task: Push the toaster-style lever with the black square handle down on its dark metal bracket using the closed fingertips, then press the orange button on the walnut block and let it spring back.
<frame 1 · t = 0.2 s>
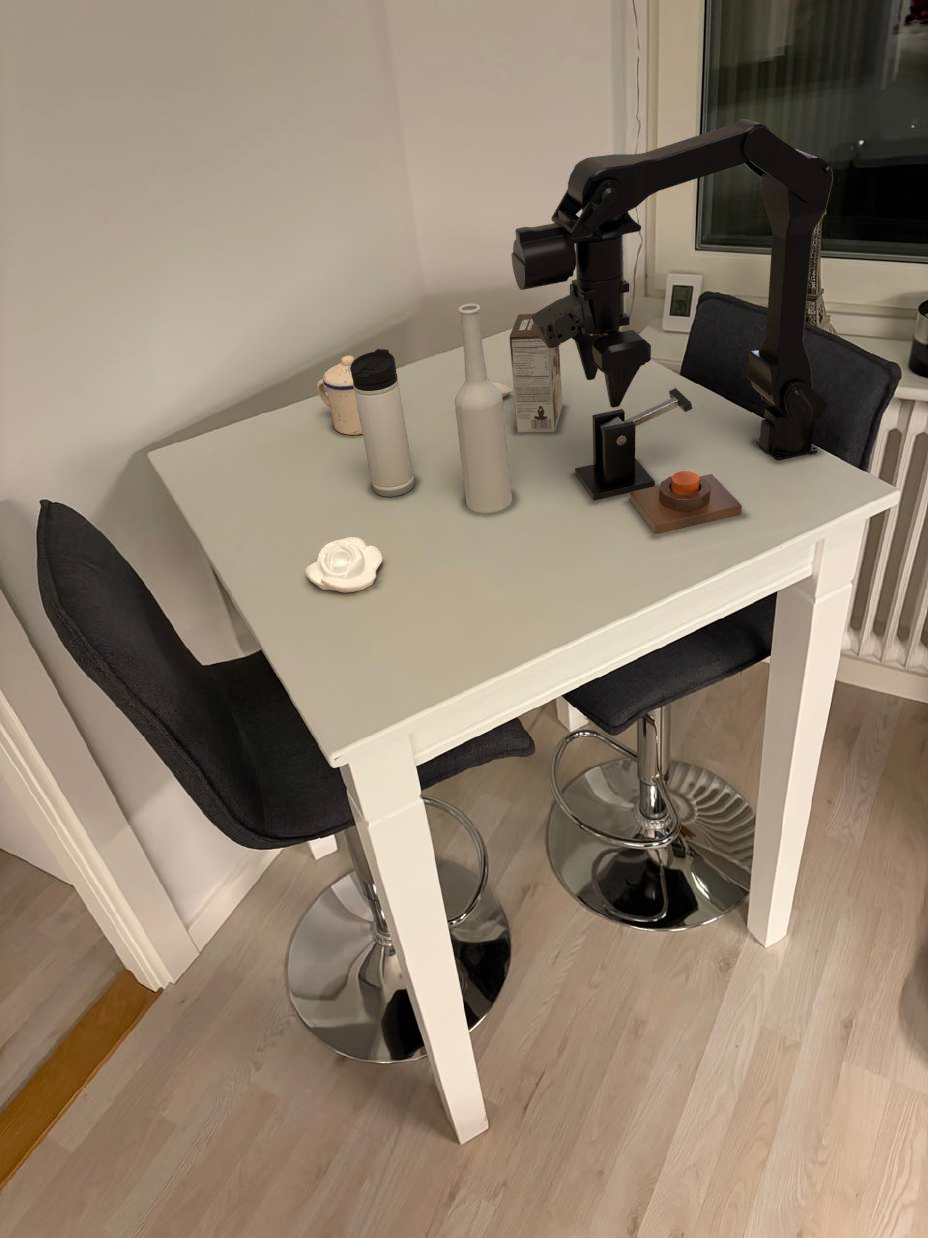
hand: (602, 392, 123), 15 cm above the table, tool pointing down, fingers open, 9 cm apart
travel mug: (395, 486, 138), on the table
coffee box: (540, 421, 150), on the table
cancel button: (685, 483, 123), point 4 cm above the table, slide at 0.1 cm
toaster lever: (644, 416, 127), point 9 cm above the table, hinge at 15.0°
macaroon: (498, 399, 158), on the table
teacup with lid: (353, 423, 157), on the table
lever bracket: (614, 481, 133), on the table
button block: (684, 509, 125), on the table
rose: (346, 575, 122), on the table
bottle: (489, 502, 132), on the table
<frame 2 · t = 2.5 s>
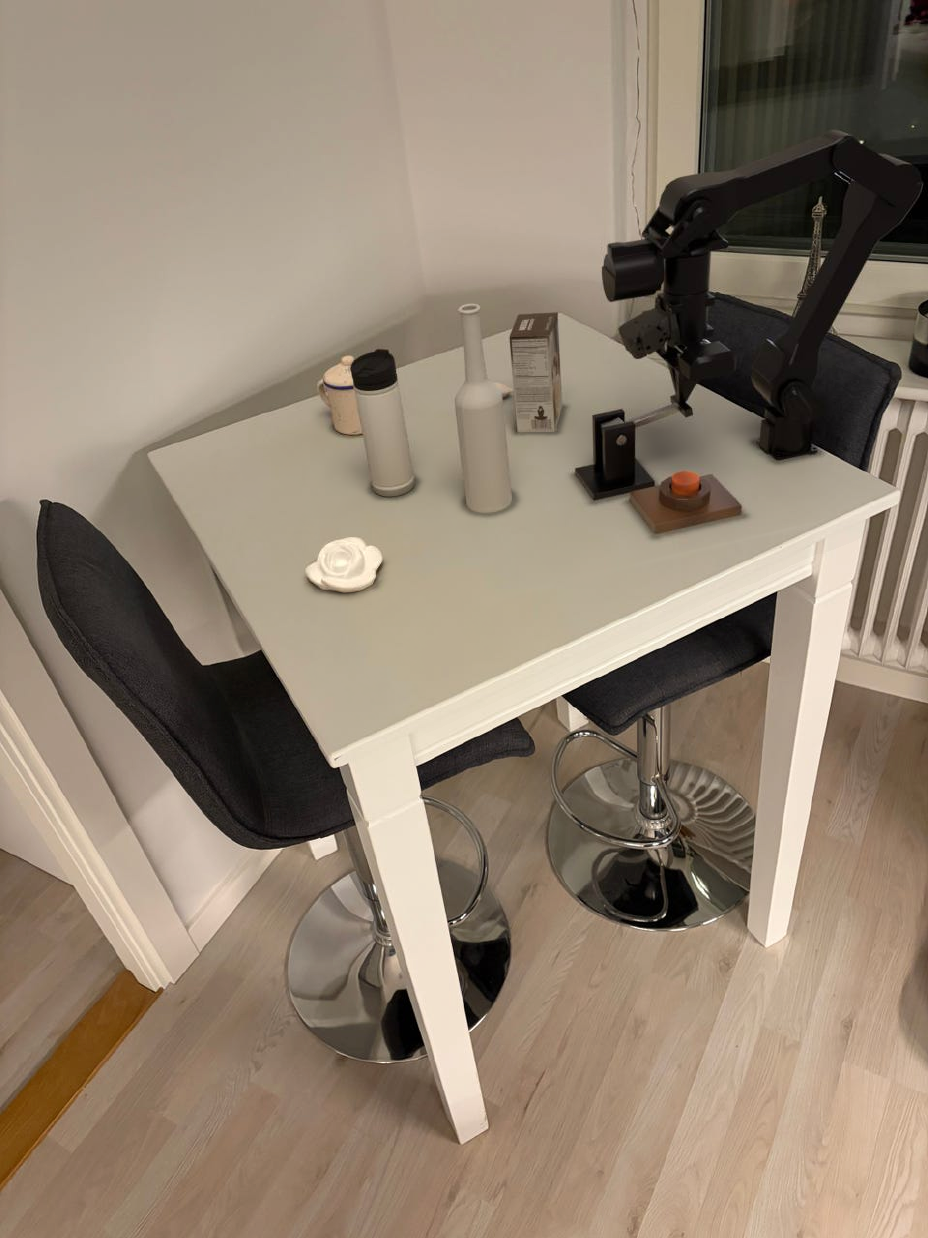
hand: (681, 401, 127), 10 cm above the table, tool pointing down, fingers closed, pressing on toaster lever
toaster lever: (644, 419, 128), point 9 cm above the table, hinge at 9.8°, touching gripper
everything else where it was.
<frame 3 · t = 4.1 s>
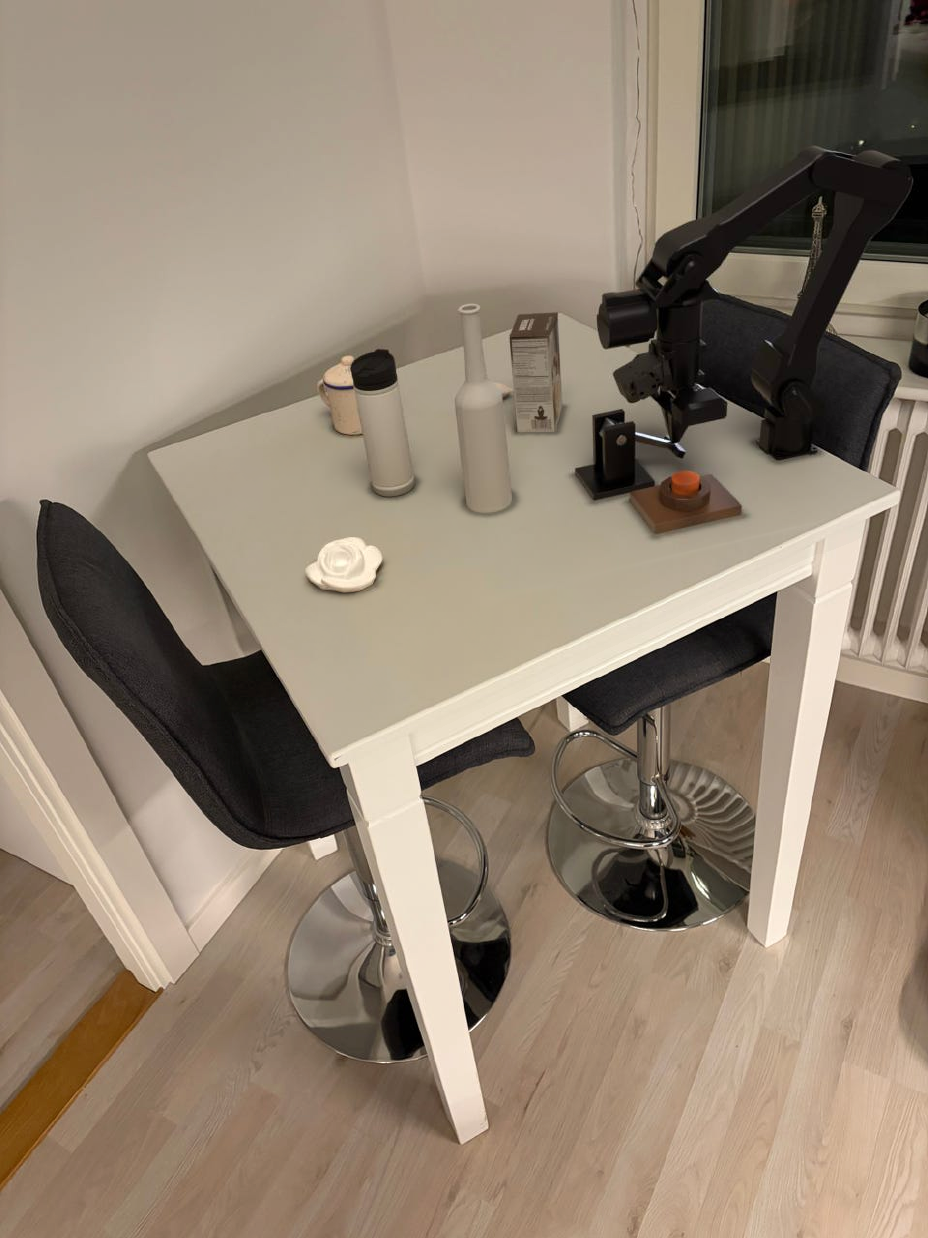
hand: (674, 441, 131), 4 cm above the table, tool pointing down, fingers closed, pressing on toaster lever
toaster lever: (641, 438, 129), point 6 cm above the table, hinge at -26.4°, touching gripper
everything else where it was.
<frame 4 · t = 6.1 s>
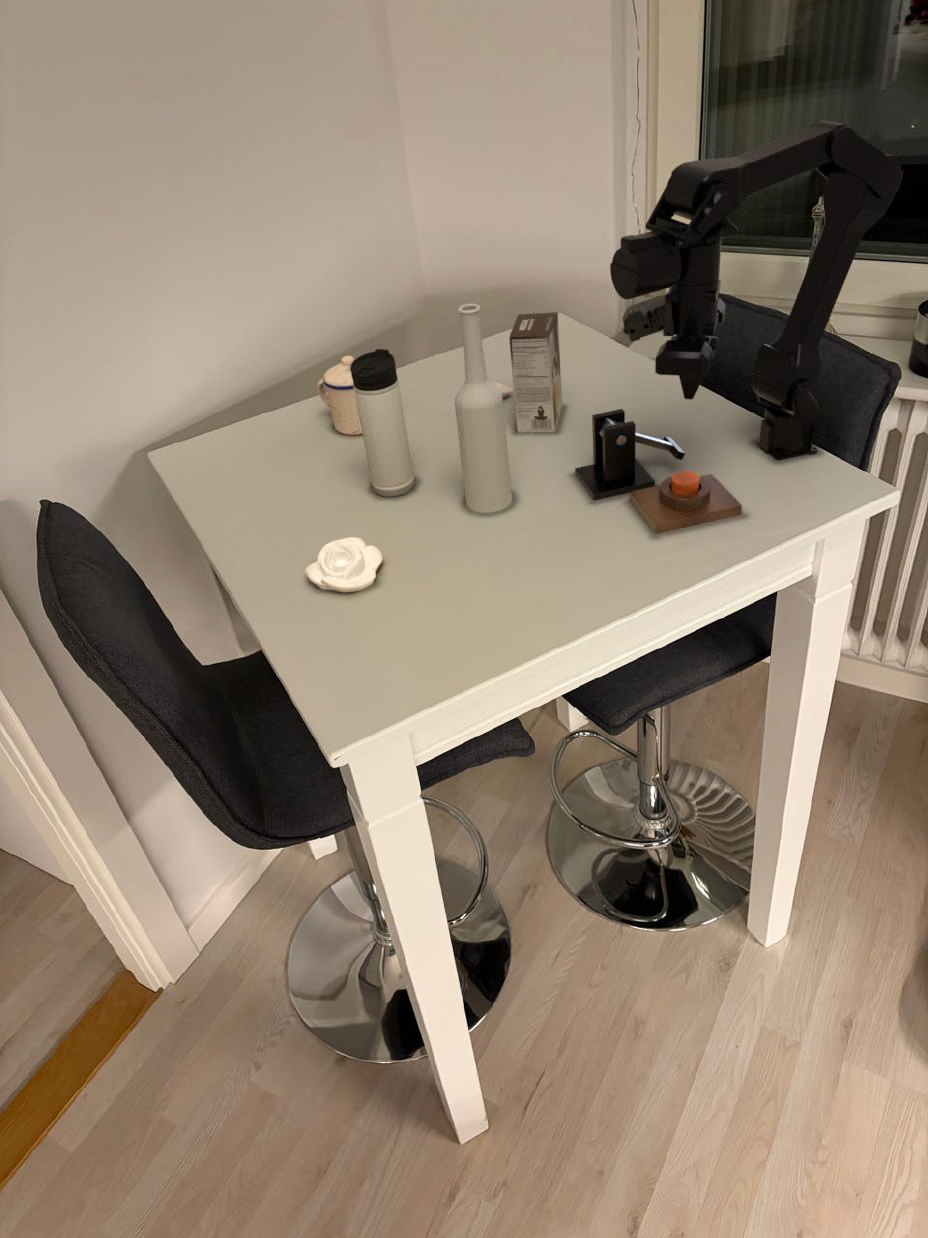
hand: (689, 398, 122), 13 cm above the table, tool pointing down, fingers closed
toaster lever: (641, 438, 129), point 6 cm above the table, hinge at -27.6°
everything else where it was.
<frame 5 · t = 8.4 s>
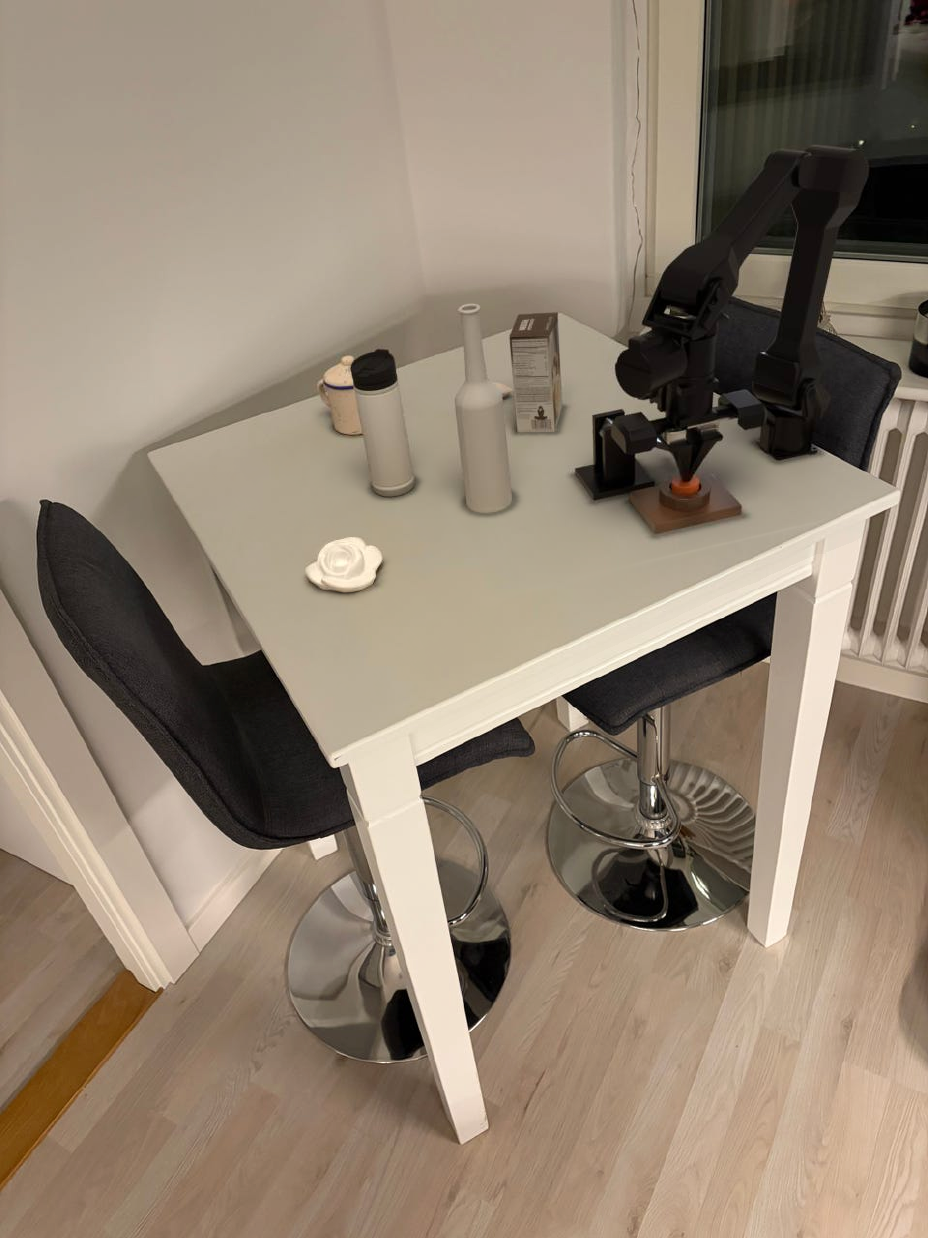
hand: (685, 480, 122), 4 cm above the table, tool pointing down, fingers closed, pressing on cancel button
cancel button: (685, 486, 123), point 4 cm above the table, slide at -0.3 cm, touching gripper
everything else where it was.
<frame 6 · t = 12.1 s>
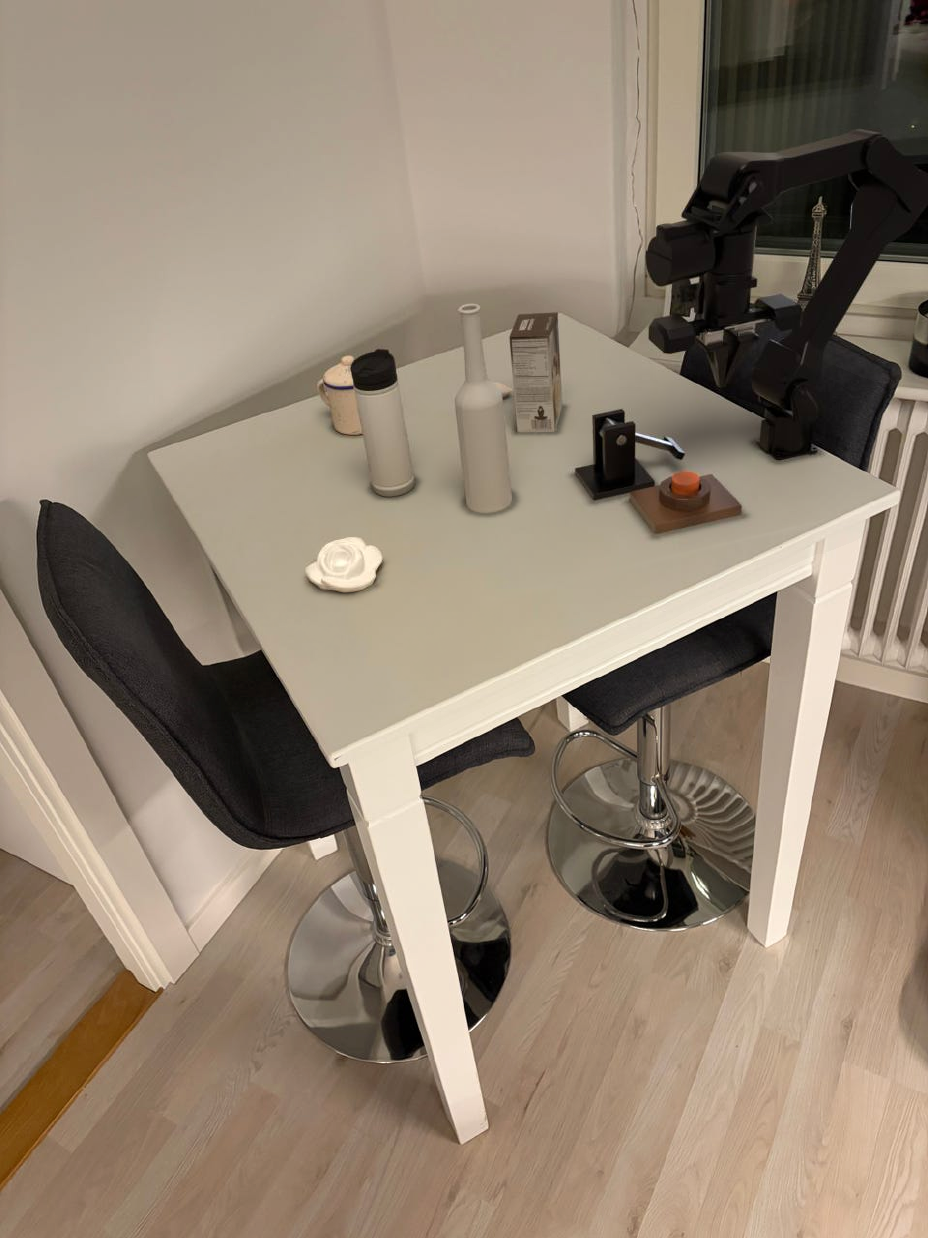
hand: (720, 385, 124), 13 cm above the table, tool pointing down, fingers closed
cancel button: (685, 483, 123), point 4 cm above the table, slide at 0.1 cm
everything else where it was.
at the end: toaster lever at -28° (first picture: +15°); cancel button pushed in 1.1 cm at the most during the clip, back to where it started at the end; cancel button slide at 0.1 cm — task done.
